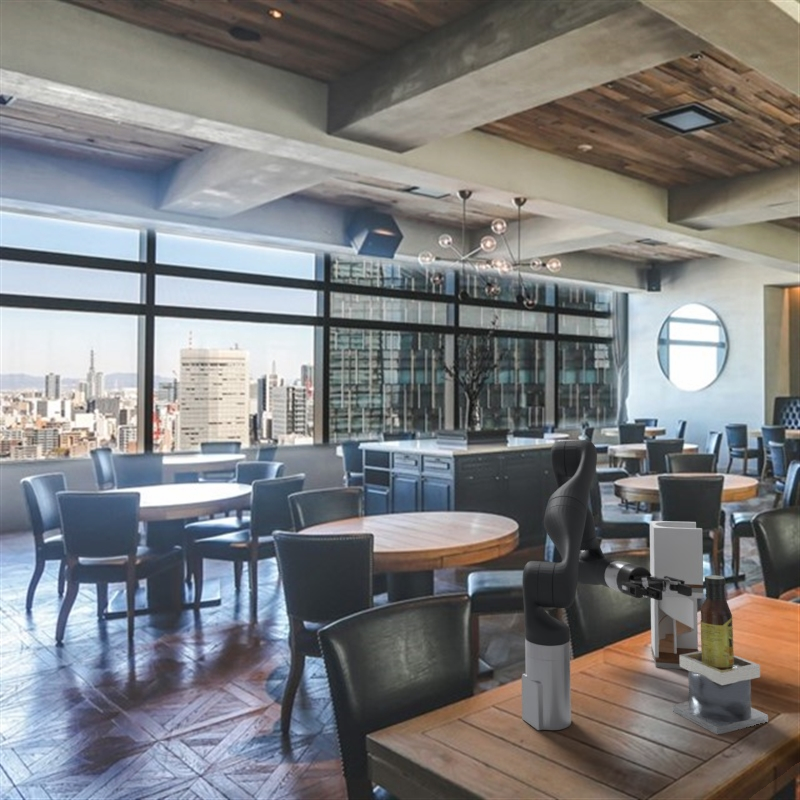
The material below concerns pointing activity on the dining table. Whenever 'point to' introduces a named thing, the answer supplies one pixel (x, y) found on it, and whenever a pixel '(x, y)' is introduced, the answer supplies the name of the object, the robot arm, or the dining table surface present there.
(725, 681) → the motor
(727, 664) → the sauce bottle
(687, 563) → the white tower
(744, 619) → the dining table surface
